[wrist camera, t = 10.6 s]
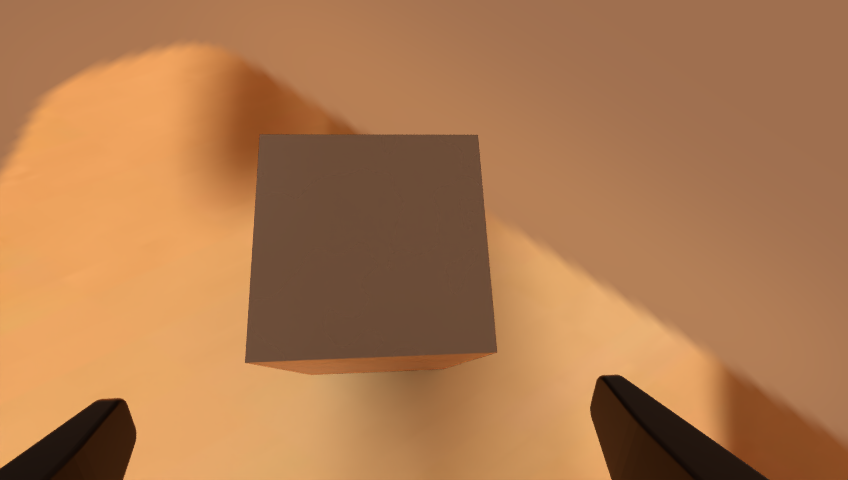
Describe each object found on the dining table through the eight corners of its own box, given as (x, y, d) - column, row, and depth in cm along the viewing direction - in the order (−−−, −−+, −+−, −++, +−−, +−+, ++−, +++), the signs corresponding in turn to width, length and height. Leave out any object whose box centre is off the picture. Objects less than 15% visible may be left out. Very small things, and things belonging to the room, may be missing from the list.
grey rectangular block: (443, 368, 22) (497, 352, 12) (311, 374, 21) (245, 362, 11) (436, 244, 24) (477, 134, 13) (314, 246, 23) (259, 134, 13)
